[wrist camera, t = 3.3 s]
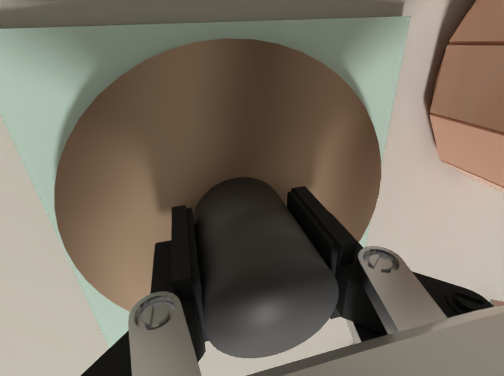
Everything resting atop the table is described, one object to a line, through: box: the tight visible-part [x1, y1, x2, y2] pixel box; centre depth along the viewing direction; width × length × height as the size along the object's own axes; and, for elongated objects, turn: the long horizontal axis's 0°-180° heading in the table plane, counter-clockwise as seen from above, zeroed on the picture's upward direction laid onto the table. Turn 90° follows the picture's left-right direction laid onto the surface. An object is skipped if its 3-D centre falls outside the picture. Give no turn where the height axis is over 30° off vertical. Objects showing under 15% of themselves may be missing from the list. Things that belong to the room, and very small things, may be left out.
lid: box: [54, 38, 381, 358], centre depth 10 cm, size 14×14×6 cm
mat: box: [0, 16, 411, 348], centre depth 13 cm, size 15×15×1 cm
